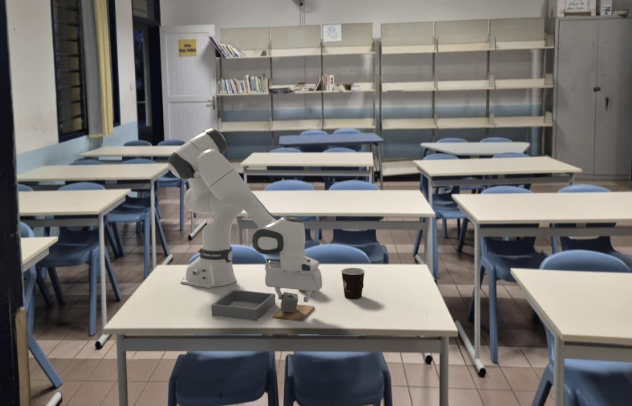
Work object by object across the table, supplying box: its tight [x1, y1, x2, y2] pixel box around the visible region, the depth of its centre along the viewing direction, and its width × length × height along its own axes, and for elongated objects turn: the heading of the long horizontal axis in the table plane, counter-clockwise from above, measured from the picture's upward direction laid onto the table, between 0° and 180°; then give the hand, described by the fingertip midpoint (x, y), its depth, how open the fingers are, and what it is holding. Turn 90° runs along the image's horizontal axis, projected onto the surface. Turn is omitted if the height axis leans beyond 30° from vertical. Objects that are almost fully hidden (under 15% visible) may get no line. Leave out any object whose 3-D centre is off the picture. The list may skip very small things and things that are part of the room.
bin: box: [211, 289, 276, 322], centre depth 226 cm, size 17×17×4 cm
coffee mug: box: [341, 267, 365, 300], centre depth 236 cm, size 12×9×10 cm
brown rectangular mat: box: [271, 303, 315, 322], centre depth 223 cm, size 11×13×1 cm
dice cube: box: [280, 291, 299, 313], centre depth 222 cm, size 5×5×5 cm
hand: (293, 300), depth 222 cm, fingers open, 8 cm apart
